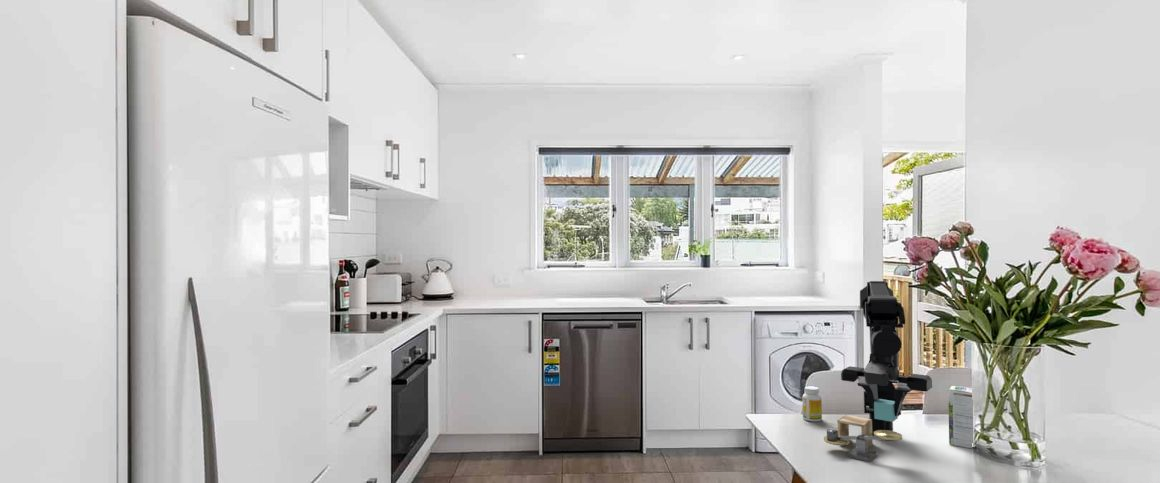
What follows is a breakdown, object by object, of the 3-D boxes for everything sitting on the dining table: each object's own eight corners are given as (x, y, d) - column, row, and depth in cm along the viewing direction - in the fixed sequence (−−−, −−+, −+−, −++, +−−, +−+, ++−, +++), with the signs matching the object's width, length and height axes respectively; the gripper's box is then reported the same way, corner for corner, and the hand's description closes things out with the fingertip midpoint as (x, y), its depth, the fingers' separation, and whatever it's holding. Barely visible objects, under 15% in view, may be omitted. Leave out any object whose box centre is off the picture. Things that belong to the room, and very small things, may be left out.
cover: (846, 438, 151) (846, 414, 151) (872, 444, 147) (871, 419, 147) (838, 444, 147) (837, 420, 147) (864, 450, 142) (863, 424, 142)
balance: (829, 444, 146) (828, 419, 147) (906, 461, 134) (905, 433, 134) (820, 450, 142) (819, 424, 142) (899, 468, 130) (898, 439, 130)
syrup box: (951, 439, 149) (949, 385, 150) (978, 443, 146) (976, 388, 146) (949, 445, 145) (947, 389, 145) (976, 449, 141) (974, 392, 141)
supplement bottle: (799, 419, 170) (798, 387, 170) (808, 415, 173) (807, 384, 173) (816, 423, 165) (815, 390, 166) (825, 419, 169) (824, 387, 169)
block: (879, 415, 137) (879, 398, 137) (897, 418, 134) (897, 401, 134) (874, 418, 134) (874, 402, 134) (892, 421, 131) (892, 404, 132)
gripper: (832, 349, 136) (834, 414, 135) (919, 358, 123) (921, 429, 122) (848, 344, 144) (849, 404, 143) (931, 351, 131) (933, 418, 130)
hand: (886, 414), depth 134 cm, fingers closed on block, 4 cm apart
